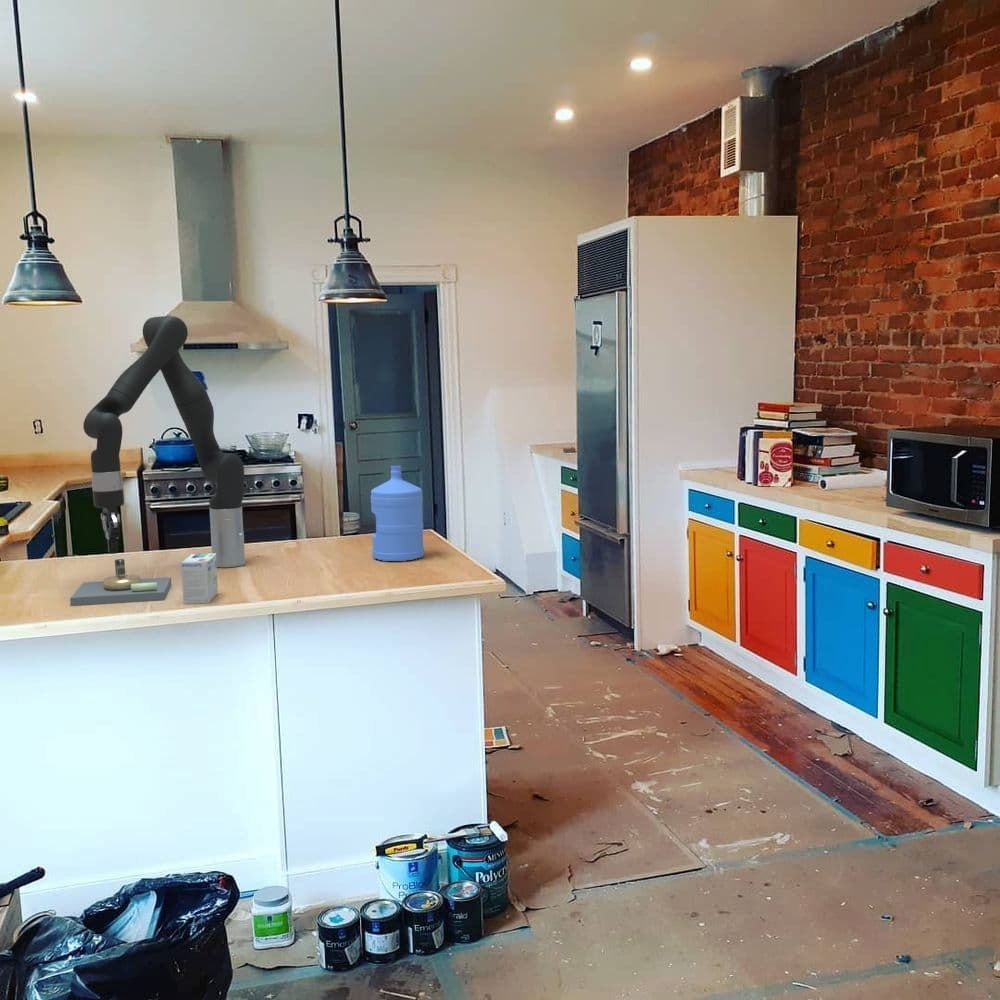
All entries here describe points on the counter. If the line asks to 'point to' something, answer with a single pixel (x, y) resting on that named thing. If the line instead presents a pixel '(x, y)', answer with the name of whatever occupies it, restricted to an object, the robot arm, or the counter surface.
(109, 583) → the tan disc with handle
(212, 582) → the light bulb box
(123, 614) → the counter surface
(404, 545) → the water jug
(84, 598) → the instrument base
